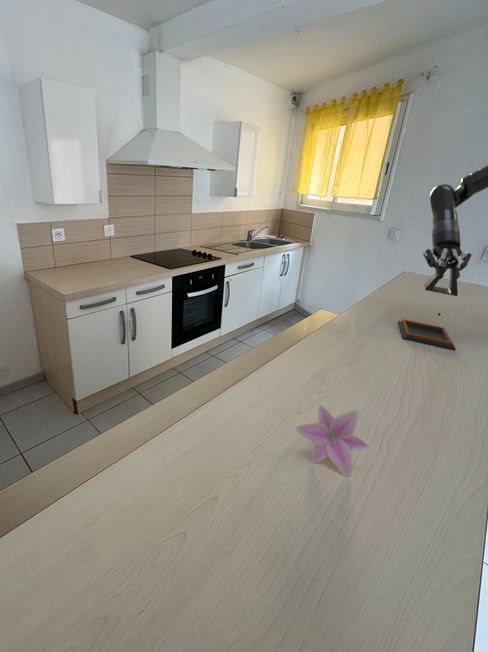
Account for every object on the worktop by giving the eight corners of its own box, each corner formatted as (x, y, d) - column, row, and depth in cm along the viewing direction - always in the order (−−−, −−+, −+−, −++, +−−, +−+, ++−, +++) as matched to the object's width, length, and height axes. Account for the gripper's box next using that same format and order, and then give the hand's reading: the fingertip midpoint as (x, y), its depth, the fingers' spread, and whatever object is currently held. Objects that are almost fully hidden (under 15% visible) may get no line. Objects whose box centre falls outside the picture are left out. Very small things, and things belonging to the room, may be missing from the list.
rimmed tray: (444, 332, 118) (446, 327, 118) (454, 350, 106) (457, 345, 105) (397, 322, 124) (399, 317, 123) (402, 338, 112) (404, 333, 111)
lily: (283, 443, 67) (293, 429, 60) (316, 405, 72) (329, 388, 64) (333, 491, 62) (351, 483, 54) (366, 447, 66) (387, 434, 59)
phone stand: (424, 290, 110) (437, 255, 106) (424, 285, 115) (435, 252, 110) (457, 296, 106) (471, 261, 101) (455, 291, 111) (469, 257, 106)
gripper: (428, 227, 111) (429, 270, 105) (476, 231, 108) (480, 276, 102) (417, 239, 118) (418, 281, 112) (462, 243, 115) (465, 286, 109)
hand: (448, 278), depth 107 cm, fingers closed on phone stand, 3 cm apart
